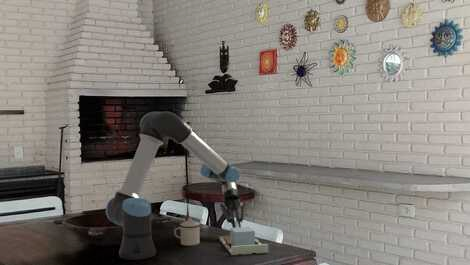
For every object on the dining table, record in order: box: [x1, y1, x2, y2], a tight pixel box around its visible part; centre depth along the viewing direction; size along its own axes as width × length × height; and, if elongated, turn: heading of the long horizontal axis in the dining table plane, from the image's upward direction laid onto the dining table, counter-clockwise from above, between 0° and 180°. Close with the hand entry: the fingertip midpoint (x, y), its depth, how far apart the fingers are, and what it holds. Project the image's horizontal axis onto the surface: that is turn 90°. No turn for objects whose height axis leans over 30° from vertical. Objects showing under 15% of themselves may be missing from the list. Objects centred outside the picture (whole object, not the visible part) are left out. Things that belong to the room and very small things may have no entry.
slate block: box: [229, 226, 256, 246], centre depth 227 cm, size 9×9×8 cm
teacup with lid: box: [173, 217, 201, 247], centre depth 232 cm, size 12×9×12 cm
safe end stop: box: [230, 243, 269, 256], centre depth 214 cm, size 1×16×4 cm, turn 103°
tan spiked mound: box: [184, 203, 203, 227], centre depth 269 cm, size 15×10×13 cm
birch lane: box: [218, 235, 262, 255], centre depth 228 cm, size 28×16×1 cm, turn 13°
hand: (238, 234), depth 236 cm, fingers closed
